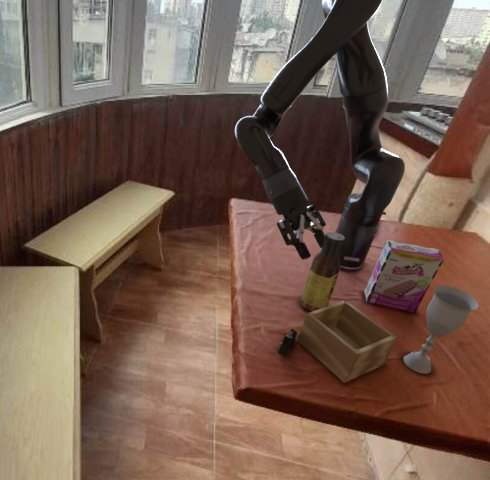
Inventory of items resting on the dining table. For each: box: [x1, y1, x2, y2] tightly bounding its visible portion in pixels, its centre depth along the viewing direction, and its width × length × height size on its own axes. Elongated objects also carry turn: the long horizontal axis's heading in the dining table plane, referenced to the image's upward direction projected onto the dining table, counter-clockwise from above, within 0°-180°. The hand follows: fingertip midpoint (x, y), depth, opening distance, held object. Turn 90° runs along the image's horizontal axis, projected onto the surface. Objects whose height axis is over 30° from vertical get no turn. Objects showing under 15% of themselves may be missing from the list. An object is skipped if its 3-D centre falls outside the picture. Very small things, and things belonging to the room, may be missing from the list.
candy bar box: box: [363, 239, 445, 314], centre depth 101 cm, size 11×5×16 cm, turn 71°
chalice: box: [403, 284, 479, 375], centre depth 83 cm, size 7×7×18 cm
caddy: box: [297, 300, 398, 384], centre depth 87 cm, size 12×13×8 cm
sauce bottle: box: [300, 231, 345, 312], centre depth 98 cm, size 7×6×20 cm
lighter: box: [277, 328, 299, 357], centre depth 89 cm, size 8×2×5 cm
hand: (316, 252), depth 98 cm, fingers open, 8 cm apart
